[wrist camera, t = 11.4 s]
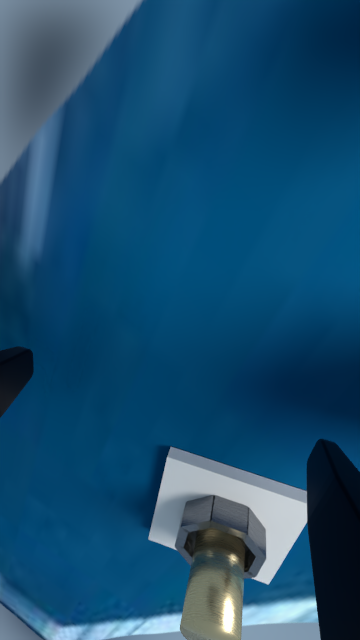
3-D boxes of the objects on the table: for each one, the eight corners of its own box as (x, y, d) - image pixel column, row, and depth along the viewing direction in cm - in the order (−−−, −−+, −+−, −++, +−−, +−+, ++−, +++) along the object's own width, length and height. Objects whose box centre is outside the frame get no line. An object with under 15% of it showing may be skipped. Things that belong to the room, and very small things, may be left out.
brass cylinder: (251, 520, 28) (248, 636, 21) (238, 546, 30) (232, 661, 23) (204, 504, 28) (185, 612, 21) (195, 530, 30) (175, 637, 23)
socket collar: (273, 515, 27) (274, 543, 25) (249, 560, 30) (249, 589, 28) (190, 486, 28) (184, 511, 26) (176, 533, 31) (170, 559, 29)
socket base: (314, 493, 26) (316, 506, 25) (268, 571, 32) (268, 584, 31) (170, 446, 28) (167, 456, 27) (151, 527, 34) (148, 539, 33)
